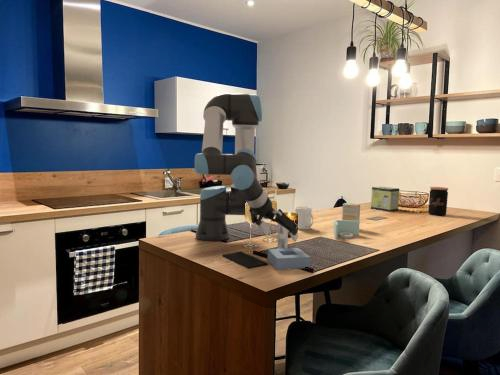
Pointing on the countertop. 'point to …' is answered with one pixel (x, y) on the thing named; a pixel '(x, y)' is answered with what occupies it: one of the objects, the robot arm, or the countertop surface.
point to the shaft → (282, 237)
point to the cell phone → (245, 259)
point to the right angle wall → (346, 228)
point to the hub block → (288, 258)
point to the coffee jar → (438, 201)
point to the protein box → (385, 199)
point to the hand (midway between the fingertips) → (281, 235)
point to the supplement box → (351, 212)
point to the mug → (304, 217)
